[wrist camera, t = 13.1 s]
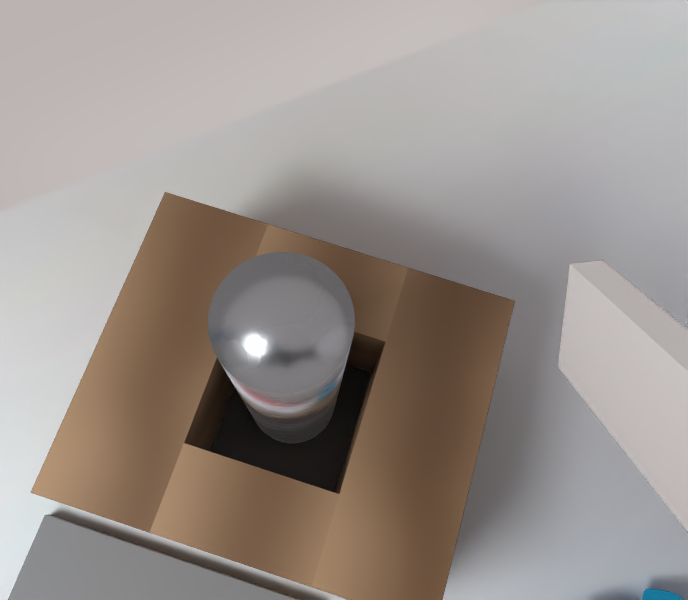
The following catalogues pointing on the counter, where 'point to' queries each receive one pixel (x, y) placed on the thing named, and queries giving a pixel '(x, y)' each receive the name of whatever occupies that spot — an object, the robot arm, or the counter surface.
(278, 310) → the peg
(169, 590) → the mat
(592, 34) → the counter surface
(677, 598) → the gear
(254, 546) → the hole block
